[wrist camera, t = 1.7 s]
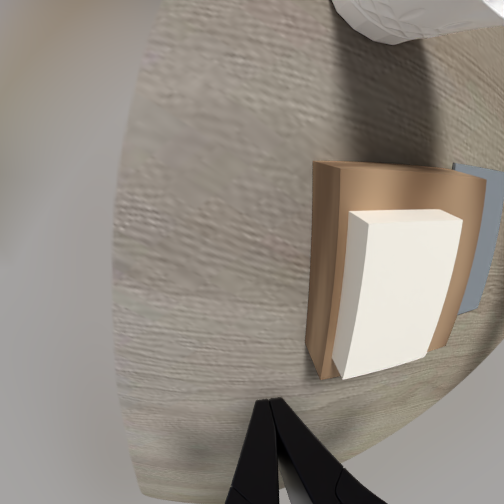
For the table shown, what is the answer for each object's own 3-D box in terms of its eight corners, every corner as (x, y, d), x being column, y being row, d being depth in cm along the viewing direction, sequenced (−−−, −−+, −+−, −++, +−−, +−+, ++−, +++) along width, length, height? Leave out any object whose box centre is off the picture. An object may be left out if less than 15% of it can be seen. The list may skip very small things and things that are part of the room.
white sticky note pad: (439, 209, 13) (463, 220, 12) (410, 338, 17) (424, 356, 15) (348, 211, 13) (368, 223, 11) (331, 357, 16) (342, 379, 14)
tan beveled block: (448, 168, 17) (486, 179, 13) (420, 319, 22) (445, 345, 18) (312, 160, 16) (340, 168, 12) (304, 342, 21) (320, 379, 17)
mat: (504, 172, 17) (506, 172, 17) (475, 306, 23) (477, 308, 22) (453, 162, 17) (455, 163, 16) (423, 322, 22) (425, 324, 22)
